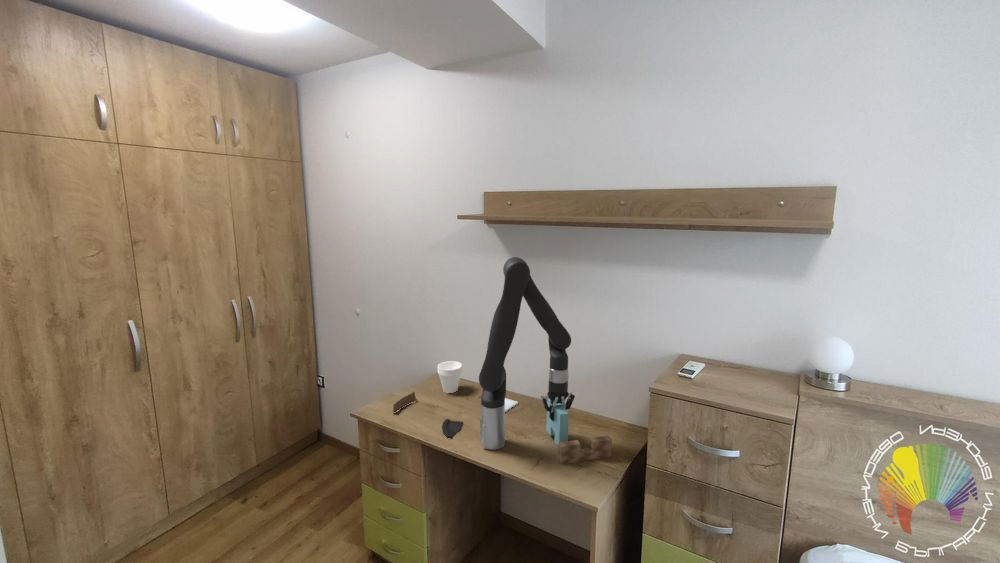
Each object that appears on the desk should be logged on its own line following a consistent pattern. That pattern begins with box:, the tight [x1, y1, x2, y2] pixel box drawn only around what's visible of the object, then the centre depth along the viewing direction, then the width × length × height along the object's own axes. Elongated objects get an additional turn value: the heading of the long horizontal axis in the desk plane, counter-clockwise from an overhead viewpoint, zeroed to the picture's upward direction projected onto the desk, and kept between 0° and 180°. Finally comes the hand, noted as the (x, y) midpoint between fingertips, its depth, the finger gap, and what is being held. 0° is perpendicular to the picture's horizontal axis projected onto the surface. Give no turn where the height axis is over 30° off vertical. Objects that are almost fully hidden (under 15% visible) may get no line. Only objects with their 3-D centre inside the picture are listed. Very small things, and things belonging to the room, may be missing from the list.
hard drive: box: [505, 397, 519, 413], centre depth 207 cm, size 2×8×12 cm
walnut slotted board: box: [557, 435, 613, 465], centre depth 165 cm, size 20×3×7 cm, turn 104°
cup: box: [437, 360, 463, 394], centre depth 223 cm, size 12×12×14 cm
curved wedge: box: [441, 418, 464, 439], centre depth 187 cm, size 8×14×2 cm, turn 171°
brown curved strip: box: [392, 391, 418, 414], centre depth 206 cm, size 15×2×5 cm, turn 151°
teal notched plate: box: [545, 398, 570, 447], centre depth 176 cm, size 14×4×14 cm, turn 14°
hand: (557, 419), depth 175 cm, fingers closed on teal notched plate, 3 cm apart
